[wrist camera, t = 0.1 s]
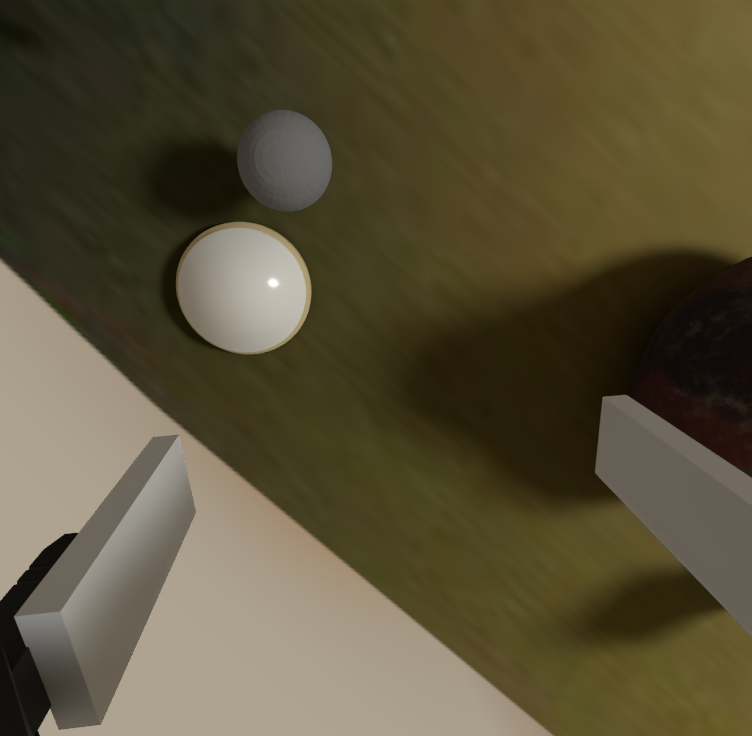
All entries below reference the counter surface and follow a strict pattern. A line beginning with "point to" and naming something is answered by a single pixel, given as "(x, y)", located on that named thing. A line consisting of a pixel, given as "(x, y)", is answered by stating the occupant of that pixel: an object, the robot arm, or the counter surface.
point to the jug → (705, 366)
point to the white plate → (243, 287)
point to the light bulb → (284, 160)
